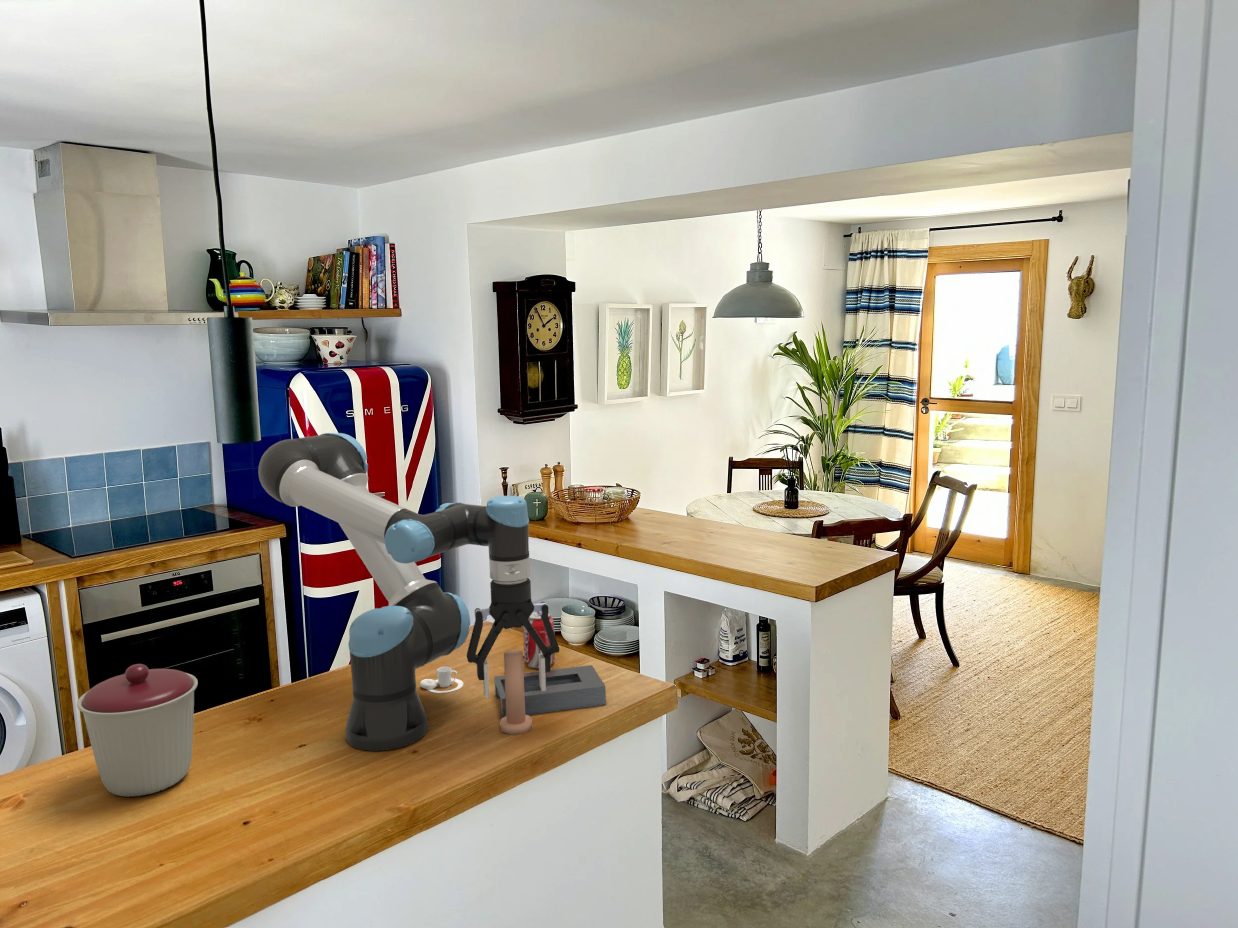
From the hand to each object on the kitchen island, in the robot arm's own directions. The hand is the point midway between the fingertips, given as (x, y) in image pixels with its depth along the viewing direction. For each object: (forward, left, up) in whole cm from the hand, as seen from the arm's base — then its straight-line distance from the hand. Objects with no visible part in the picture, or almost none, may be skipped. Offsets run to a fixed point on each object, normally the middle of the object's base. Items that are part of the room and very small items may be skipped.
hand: (514, 691), depth 171 cm
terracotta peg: (0, 0, -7) cm, 7 cm away
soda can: (+10, +31, -7) cm, 33 cm away
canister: (-64, -2, -7) cm, 64 cm away
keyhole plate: (+9, +11, -7) cm, 16 cm away
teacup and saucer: (-13, +28, -8) cm, 32 cm away
